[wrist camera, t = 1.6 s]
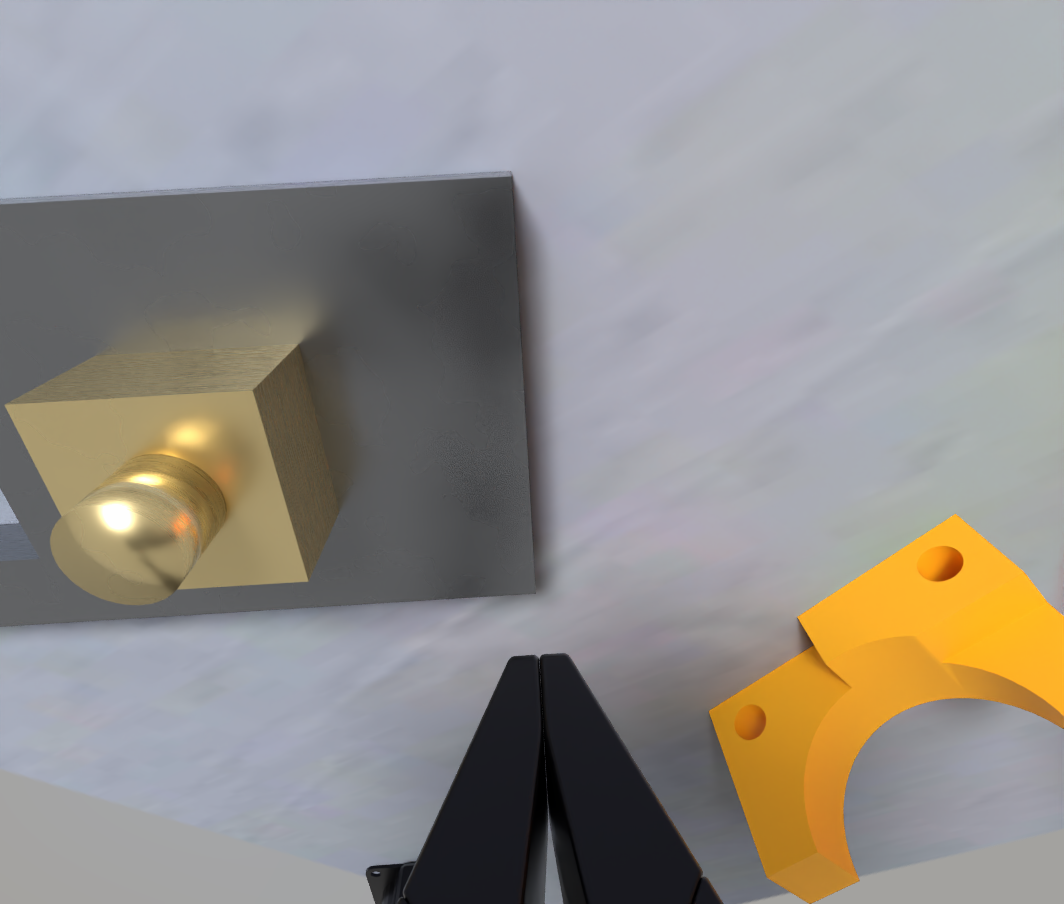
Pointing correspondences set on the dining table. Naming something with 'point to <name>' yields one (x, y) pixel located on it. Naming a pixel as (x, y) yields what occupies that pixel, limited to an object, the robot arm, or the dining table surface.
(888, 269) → the dining table surface
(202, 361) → the gold block with knob
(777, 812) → the pipe clamp
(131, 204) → the dark grey slab
